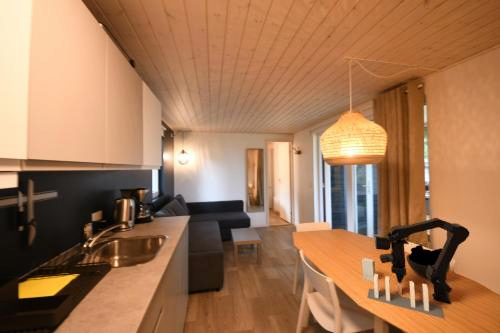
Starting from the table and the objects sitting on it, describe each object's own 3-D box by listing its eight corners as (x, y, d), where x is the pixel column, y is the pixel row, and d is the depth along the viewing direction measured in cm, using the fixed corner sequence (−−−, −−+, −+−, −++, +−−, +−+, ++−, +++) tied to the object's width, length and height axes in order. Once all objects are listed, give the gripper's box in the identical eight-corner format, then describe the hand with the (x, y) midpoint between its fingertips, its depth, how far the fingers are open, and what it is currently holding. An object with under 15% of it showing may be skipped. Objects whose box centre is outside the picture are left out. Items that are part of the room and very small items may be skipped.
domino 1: (375, 292, 115) (374, 273, 115) (379, 293, 114) (378, 274, 114) (374, 297, 111) (373, 277, 111) (378, 298, 110) (377, 278, 110)
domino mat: (369, 289, 119) (369, 288, 119) (441, 307, 102) (441, 306, 102) (367, 298, 110) (367, 297, 110) (445, 319, 94) (445, 318, 94)
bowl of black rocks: (399, 273, 134) (398, 243, 134) (420, 266, 141) (419, 238, 142) (436, 289, 116) (435, 254, 116) (458, 281, 123) (457, 248, 123)
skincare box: (376, 279, 128) (375, 259, 128) (374, 283, 125) (373, 262, 125) (364, 276, 132) (363, 256, 132) (362, 279, 129) (361, 259, 129)
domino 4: (410, 301, 106) (409, 280, 106) (414, 302, 105) (413, 281, 106) (411, 306, 102) (410, 285, 102) (415, 307, 101) (414, 286, 101)
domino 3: (398, 290, 117) (397, 271, 117) (401, 290, 116) (400, 272, 116) (398, 294, 113) (397, 275, 113) (401, 295, 112) (400, 276, 112)
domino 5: (423, 304, 104) (422, 283, 104) (427, 305, 103) (426, 284, 103) (424, 310, 99) (423, 288, 100) (428, 311, 99) (427, 289, 99)
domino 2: (386, 295, 112) (385, 275, 112) (390, 296, 111) (389, 276, 111) (386, 300, 108) (385, 280, 108) (390, 301, 107) (389, 281, 107)
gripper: (381, 243, 127) (382, 269, 126) (379, 254, 111) (380, 284, 111) (404, 246, 120) (405, 274, 120) (405, 258, 105) (407, 290, 105)
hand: (399, 280), depth 114 cm, fingers closed on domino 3, 5 cm apart
